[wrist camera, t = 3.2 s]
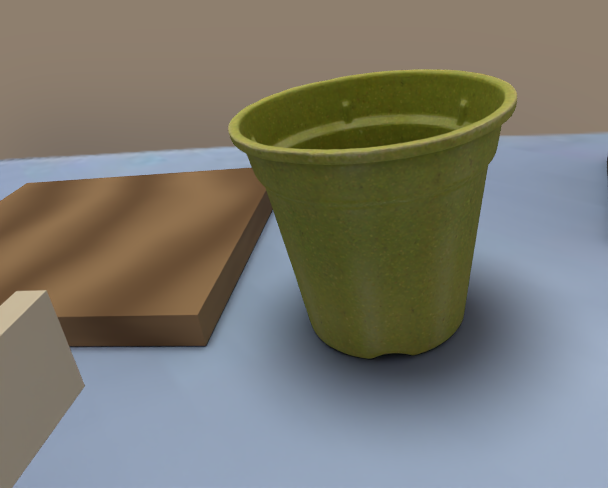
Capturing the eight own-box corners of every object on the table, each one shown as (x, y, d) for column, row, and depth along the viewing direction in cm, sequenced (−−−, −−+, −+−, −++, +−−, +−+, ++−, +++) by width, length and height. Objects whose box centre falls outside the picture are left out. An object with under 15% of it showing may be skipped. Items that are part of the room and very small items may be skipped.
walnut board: (-162, 346, 27) (-179, 320, 26) (34, 203, 40) (26, 183, 40) (205, 345, 23) (197, 314, 22) (283, 187, 37) (279, 165, 36)
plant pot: (411, 441, 17) (394, 172, 13) (223, 331, 24) (173, 126, 20) (552, 297, 23) (570, 75, 19) (368, 239, 29) (353, 64, 25)
